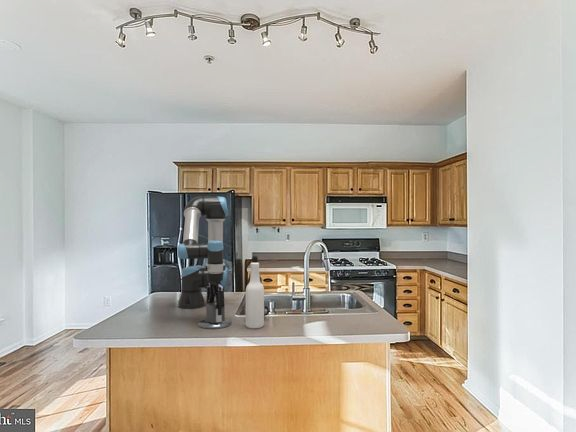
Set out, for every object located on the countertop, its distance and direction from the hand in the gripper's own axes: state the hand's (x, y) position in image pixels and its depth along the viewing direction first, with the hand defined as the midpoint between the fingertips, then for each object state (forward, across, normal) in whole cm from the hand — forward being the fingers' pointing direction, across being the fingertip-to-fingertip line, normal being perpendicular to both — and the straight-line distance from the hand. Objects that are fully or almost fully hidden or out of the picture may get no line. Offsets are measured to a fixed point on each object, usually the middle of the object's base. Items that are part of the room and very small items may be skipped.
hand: (215, 320), depth 178 cm
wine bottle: (+2, -16, +34) cm, 38 cm away
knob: (0, 0, 0) cm, 0 cm away
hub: (+2, 0, 0) cm, 2 cm away
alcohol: (+2, +15, +13) cm, 20 cm away
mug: (+2, +6, +21) cm, 22 cm away
